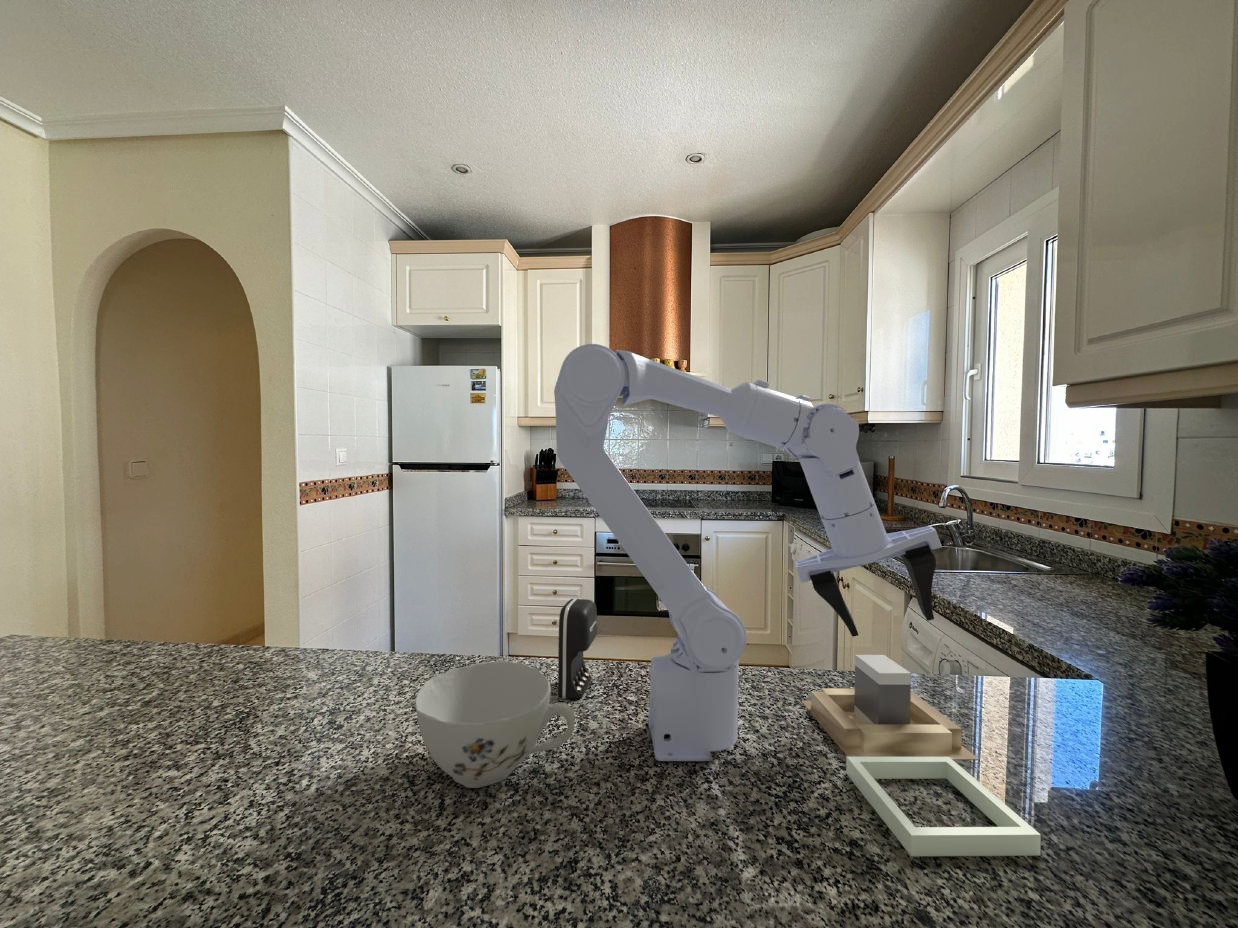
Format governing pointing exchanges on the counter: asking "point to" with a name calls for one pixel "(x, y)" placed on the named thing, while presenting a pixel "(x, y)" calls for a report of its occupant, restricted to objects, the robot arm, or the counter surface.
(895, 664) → the grey rectangular block
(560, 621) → the black battery charger
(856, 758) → the tray
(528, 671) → the teacup
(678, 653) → the robot arm
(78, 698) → the counter surface
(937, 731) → the tray
